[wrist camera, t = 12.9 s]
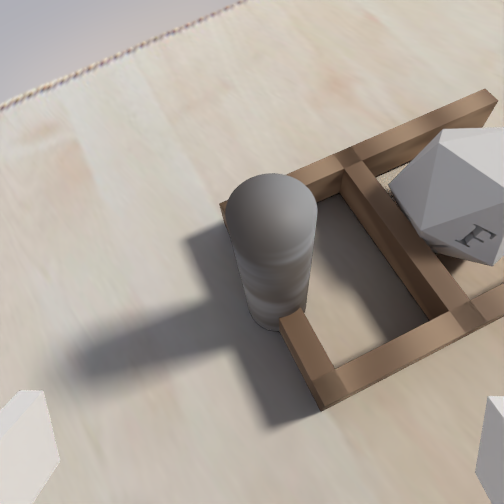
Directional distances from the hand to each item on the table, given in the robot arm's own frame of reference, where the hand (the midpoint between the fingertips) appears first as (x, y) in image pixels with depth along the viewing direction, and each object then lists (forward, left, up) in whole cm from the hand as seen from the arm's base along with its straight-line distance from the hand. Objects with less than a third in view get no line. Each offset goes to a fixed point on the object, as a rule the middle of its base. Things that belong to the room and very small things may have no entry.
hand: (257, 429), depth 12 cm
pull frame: (-14, -8, -14) cm, 21 cm away
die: (-18, -8, -14) cm, 24 cm away
